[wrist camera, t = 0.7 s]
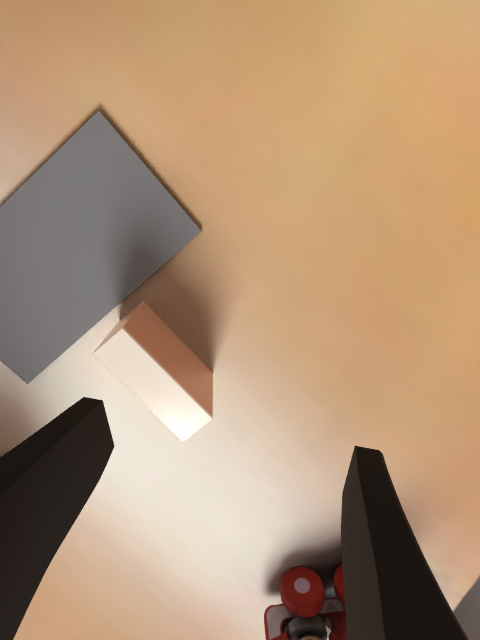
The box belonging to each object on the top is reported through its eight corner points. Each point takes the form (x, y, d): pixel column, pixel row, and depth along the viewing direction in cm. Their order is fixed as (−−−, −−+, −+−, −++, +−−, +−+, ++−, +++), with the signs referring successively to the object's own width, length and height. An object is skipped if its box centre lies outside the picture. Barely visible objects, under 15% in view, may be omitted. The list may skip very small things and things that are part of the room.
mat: (29, 381, 31) (27, 384, 30) (-79, 287, 28) (-83, 288, 28) (201, 231, 28) (201, 231, 28) (100, 111, 25) (98, 110, 25)
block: (189, 391, 32) (183, 441, 25) (119, 320, 30) (91, 354, 23) (212, 373, 31) (212, 418, 25) (143, 300, 29) (122, 328, 23)
